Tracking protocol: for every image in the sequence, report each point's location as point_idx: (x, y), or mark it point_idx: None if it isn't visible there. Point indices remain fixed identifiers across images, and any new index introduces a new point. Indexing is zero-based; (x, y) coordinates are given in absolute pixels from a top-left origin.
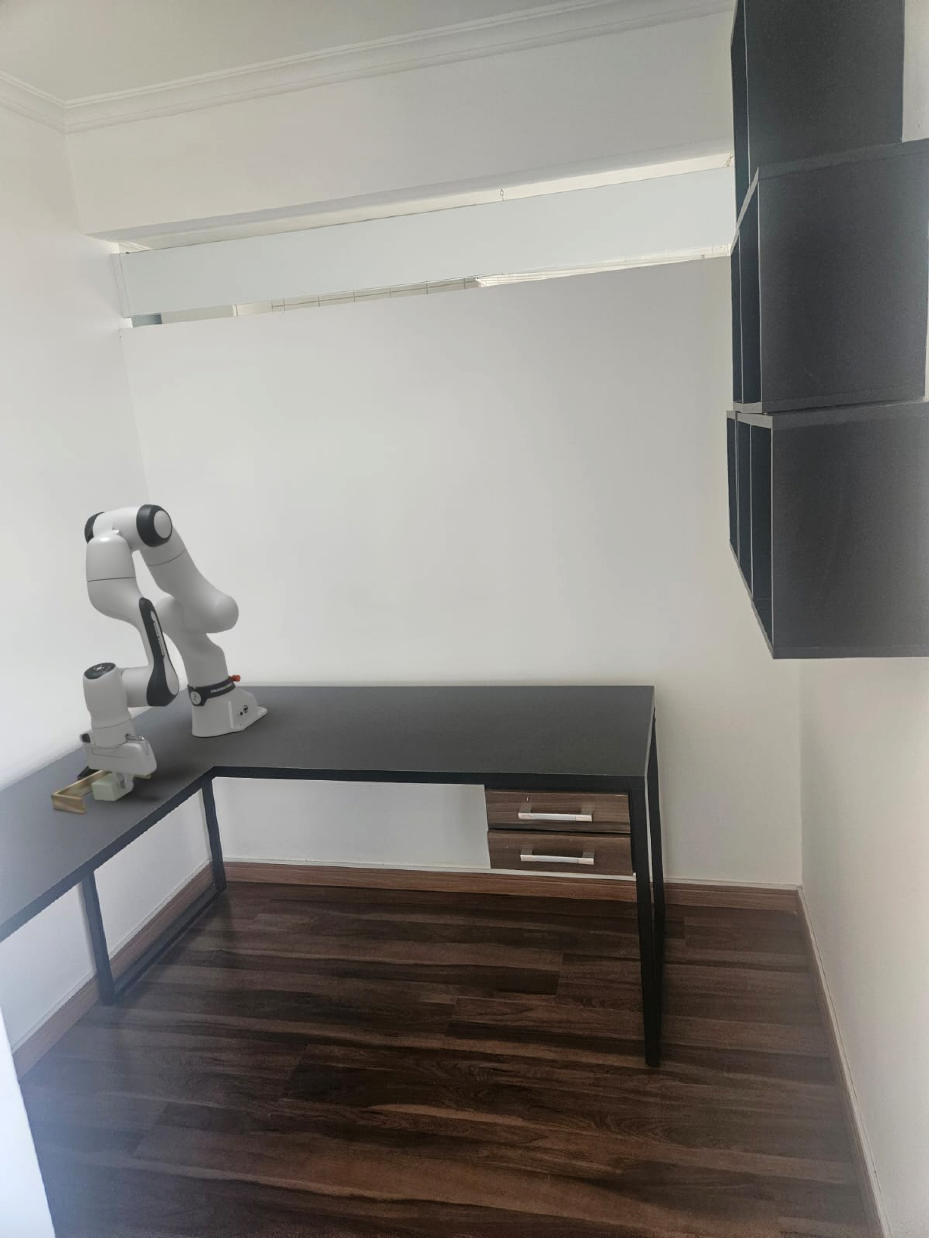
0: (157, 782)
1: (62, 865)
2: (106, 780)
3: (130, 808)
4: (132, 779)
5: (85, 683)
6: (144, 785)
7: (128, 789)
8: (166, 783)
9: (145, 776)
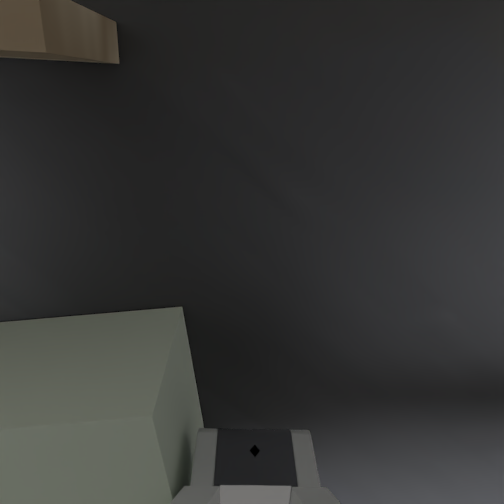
0: (308, 126)
1: None
2: None
3: (417, 498)
4: (334, 498)
5: None
6: (220, 212)
7: (185, 353)
8: (433, 127)
9: (66, 60)
